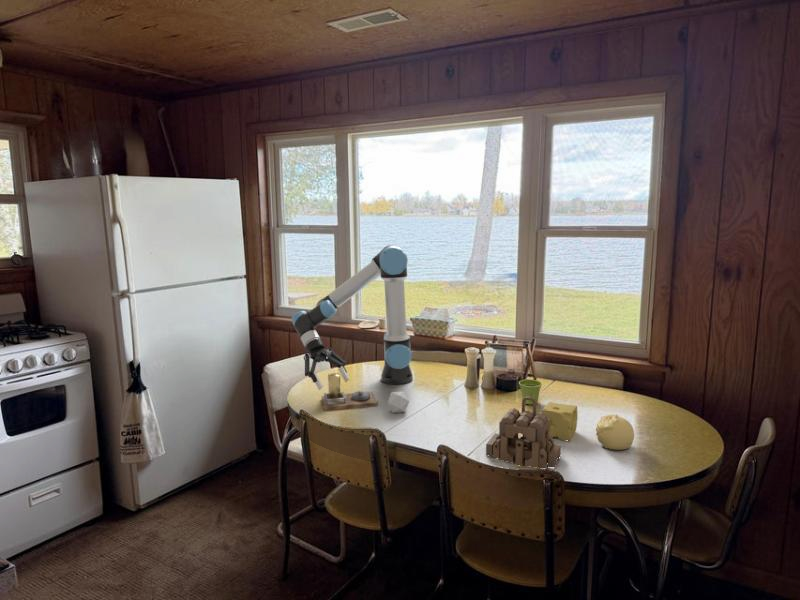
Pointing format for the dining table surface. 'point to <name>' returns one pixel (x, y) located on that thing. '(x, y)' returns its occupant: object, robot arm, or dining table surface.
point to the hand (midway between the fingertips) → (334, 384)
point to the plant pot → (530, 389)
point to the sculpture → (615, 432)
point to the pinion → (334, 385)
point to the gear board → (349, 401)
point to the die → (398, 402)
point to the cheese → (561, 420)
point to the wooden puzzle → (524, 439)
